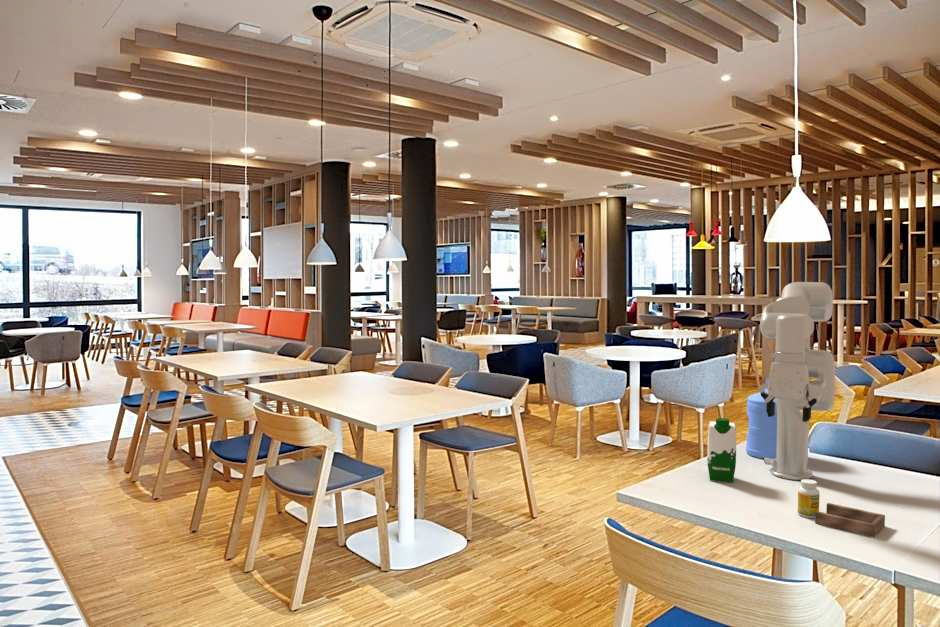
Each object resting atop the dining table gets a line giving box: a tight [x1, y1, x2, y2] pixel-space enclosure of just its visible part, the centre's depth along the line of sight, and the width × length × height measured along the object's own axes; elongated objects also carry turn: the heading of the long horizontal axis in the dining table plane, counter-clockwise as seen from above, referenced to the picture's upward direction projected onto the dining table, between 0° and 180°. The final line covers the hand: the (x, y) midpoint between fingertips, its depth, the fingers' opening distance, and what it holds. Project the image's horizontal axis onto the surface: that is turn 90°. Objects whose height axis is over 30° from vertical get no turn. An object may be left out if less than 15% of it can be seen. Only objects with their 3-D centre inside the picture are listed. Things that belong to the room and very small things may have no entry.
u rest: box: [814, 502, 886, 538], centre depth 186 cm, size 14×10×3 cm
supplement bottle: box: [797, 479, 820, 519], centre depth 193 cm, size 5×5×10 cm
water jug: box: [745, 377, 777, 459], centre depth 255 cm, size 16×16×28 cm
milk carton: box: [706, 417, 737, 484], centre depth 226 cm, size 9×9×20 cm
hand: (788, 418), depth 198 cm, fingers open, 9 cm apart
